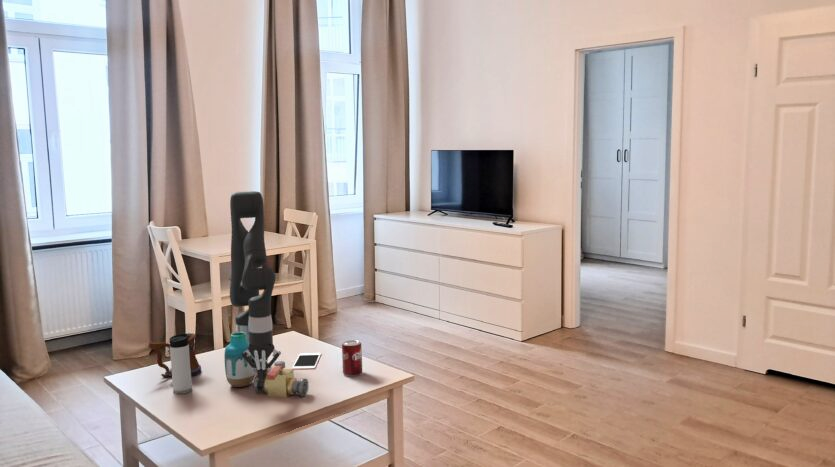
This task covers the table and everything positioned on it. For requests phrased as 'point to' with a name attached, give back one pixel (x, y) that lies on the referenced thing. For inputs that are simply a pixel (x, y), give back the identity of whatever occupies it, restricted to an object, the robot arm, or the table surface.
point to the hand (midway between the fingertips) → (262, 379)
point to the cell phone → (306, 361)
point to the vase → (238, 361)
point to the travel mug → (180, 363)
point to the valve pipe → (282, 385)
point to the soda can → (352, 358)
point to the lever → (275, 370)
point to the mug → (193, 361)
